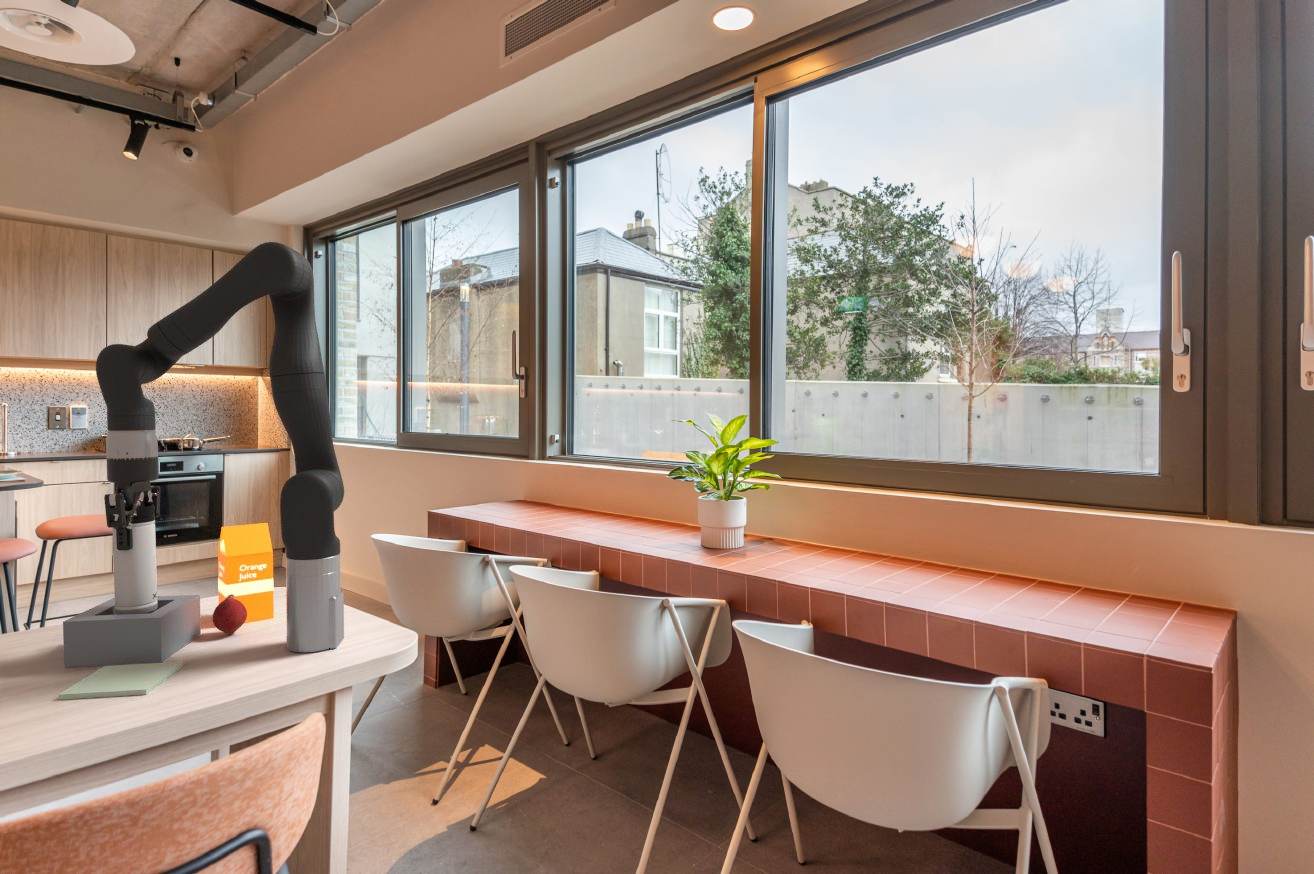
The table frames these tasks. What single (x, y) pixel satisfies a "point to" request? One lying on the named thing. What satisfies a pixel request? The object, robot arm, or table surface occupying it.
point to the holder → (131, 633)
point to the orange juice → (247, 569)
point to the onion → (229, 615)
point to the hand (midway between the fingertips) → (135, 545)
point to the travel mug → (137, 567)
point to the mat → (122, 680)
